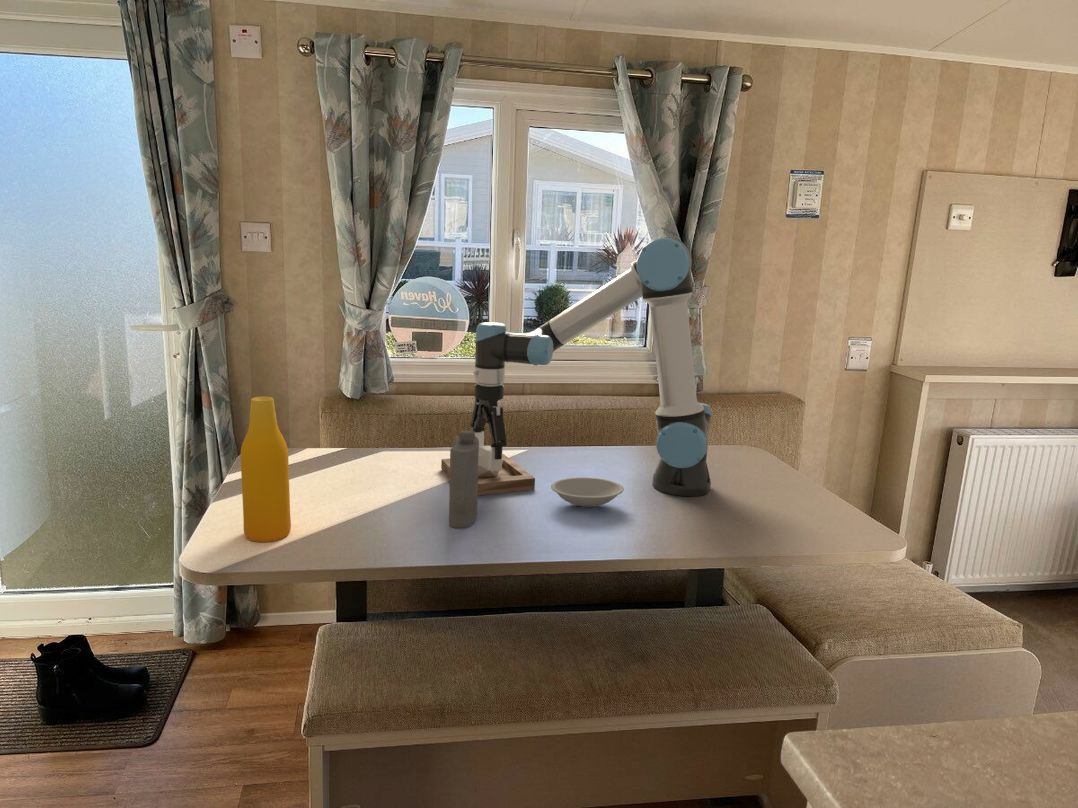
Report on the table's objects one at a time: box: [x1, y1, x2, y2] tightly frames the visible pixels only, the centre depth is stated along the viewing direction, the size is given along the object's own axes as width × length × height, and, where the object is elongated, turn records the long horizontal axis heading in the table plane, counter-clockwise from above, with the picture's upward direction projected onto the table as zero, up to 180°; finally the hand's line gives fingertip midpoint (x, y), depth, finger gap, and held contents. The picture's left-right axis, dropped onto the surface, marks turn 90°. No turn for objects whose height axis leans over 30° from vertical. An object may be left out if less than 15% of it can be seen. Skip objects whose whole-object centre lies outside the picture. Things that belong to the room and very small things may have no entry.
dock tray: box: [440, 453, 536, 496], centre depth 195 cm, size 22×18×3 cm
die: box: [478, 445, 504, 477], centre depth 194 cm, size 8×9×10 cm
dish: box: [550, 476, 625, 509], centre depth 178 cm, size 18×14×5 cm
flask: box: [448, 429, 479, 529], centre depth 167 cm, size 15×6×20 cm, turn 1°
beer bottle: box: [239, 396, 292, 543], centre depth 151 cm, size 9×9×29 cm
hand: (486, 463), depth 194 cm, fingers open, 13 cm apart
